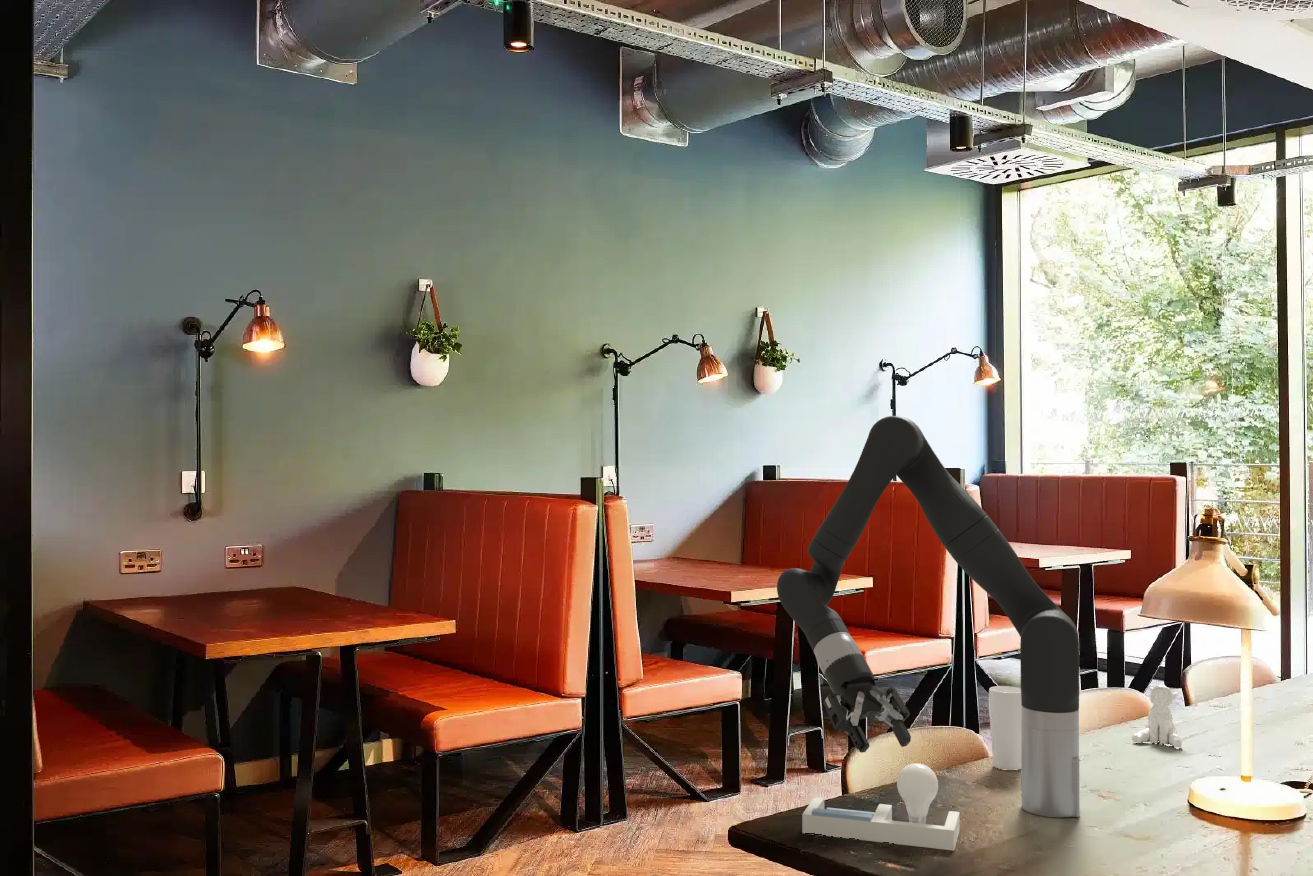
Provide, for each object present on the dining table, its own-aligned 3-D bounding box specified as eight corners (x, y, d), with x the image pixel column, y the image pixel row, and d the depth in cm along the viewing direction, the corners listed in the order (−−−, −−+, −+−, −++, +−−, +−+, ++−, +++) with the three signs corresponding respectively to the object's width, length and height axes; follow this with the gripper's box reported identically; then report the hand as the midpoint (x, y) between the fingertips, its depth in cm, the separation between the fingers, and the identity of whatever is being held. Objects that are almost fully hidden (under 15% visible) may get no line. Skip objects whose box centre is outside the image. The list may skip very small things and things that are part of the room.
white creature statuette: (1131, 744, 238) (1131, 686, 239) (1138, 735, 246) (1138, 679, 246) (1181, 750, 233) (1180, 691, 234) (1186, 741, 241) (1186, 684, 241)
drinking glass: (1027, 774, 215) (1027, 693, 215) (990, 771, 216) (990, 692, 217) (1023, 764, 222) (1023, 686, 222) (987, 762, 223) (987, 685, 223)
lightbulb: (915, 843, 176) (915, 771, 176) (888, 831, 181) (888, 761, 182) (946, 837, 179) (946, 766, 179) (919, 825, 184) (919, 756, 185)
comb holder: (960, 829, 183) (960, 806, 183) (954, 850, 173) (954, 826, 173) (816, 813, 190) (816, 791, 190) (802, 833, 180) (802, 810, 180)
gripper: (818, 655, 192) (862, 739, 181) (885, 648, 198) (931, 729, 188) (800, 681, 196) (841, 764, 186) (866, 674, 203) (909, 754, 193)
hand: (886, 747), depth 187 cm, fingers open, 8 cm apart
